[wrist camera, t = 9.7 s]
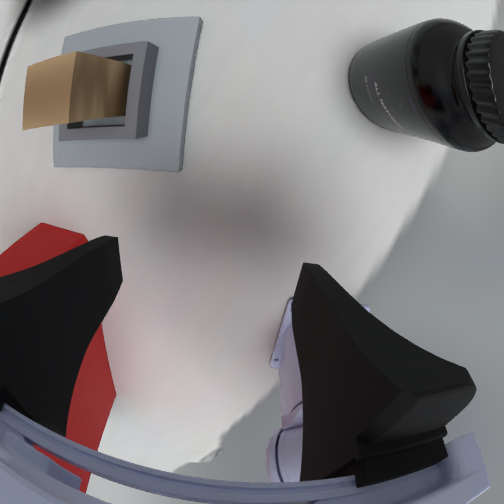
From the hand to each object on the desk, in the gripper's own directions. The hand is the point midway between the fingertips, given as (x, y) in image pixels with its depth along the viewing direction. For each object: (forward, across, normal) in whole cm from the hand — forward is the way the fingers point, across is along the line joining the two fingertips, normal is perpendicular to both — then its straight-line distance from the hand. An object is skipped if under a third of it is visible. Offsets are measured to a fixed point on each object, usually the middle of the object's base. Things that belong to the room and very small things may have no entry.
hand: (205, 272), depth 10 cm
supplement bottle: (+10, -10, -10) cm, 18 cm away
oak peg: (+9, +9, -7) cm, 14 cm away
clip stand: (+10, +9, -7) cm, 15 cm away
